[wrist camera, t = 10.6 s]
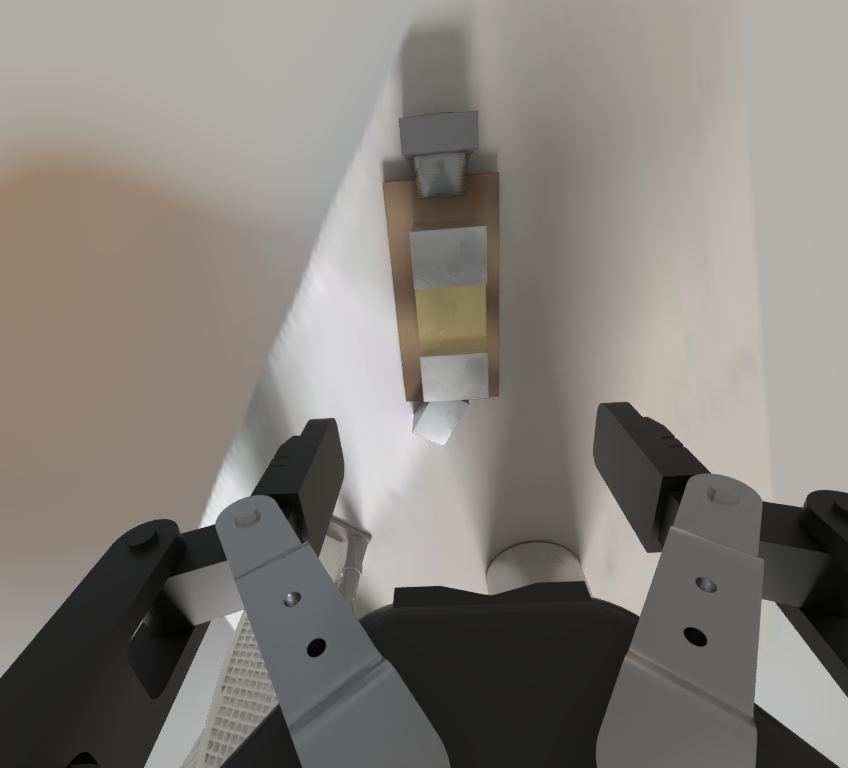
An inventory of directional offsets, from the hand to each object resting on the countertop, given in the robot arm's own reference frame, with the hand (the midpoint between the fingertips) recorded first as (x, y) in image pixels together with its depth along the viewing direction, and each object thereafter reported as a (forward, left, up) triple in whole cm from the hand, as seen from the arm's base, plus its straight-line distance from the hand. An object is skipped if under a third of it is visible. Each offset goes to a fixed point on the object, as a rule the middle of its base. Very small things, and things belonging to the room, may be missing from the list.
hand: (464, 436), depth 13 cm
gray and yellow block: (0, 0, -17) cm, 17 cm away
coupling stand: (0, 0, -18) cm, 18 cm away
